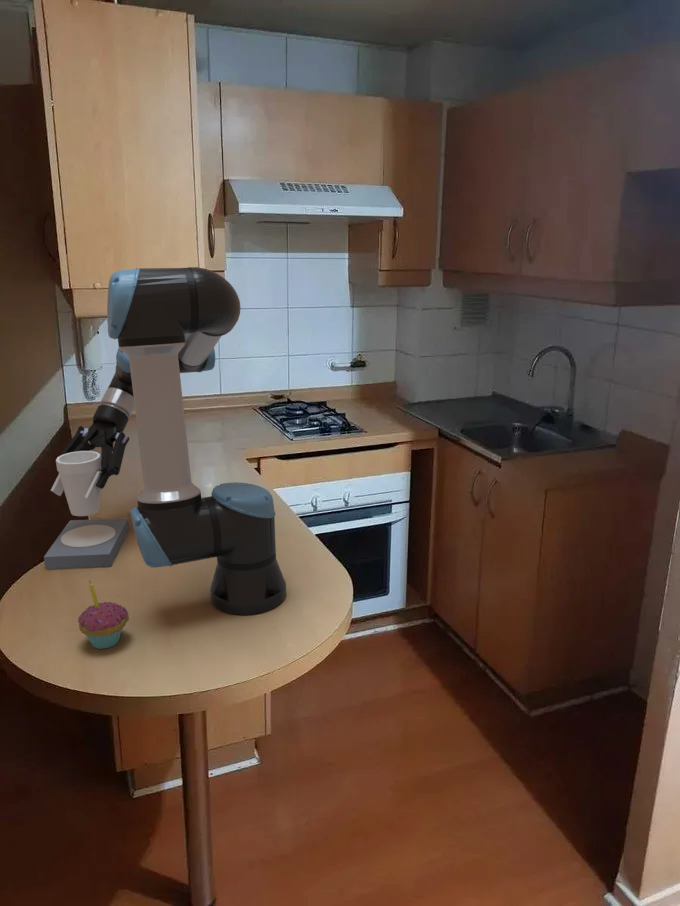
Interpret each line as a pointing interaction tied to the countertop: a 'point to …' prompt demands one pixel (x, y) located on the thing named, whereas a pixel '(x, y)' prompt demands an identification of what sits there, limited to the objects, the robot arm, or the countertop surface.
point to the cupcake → (103, 622)
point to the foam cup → (79, 480)
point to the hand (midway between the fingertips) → (72, 496)
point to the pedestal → (87, 544)
